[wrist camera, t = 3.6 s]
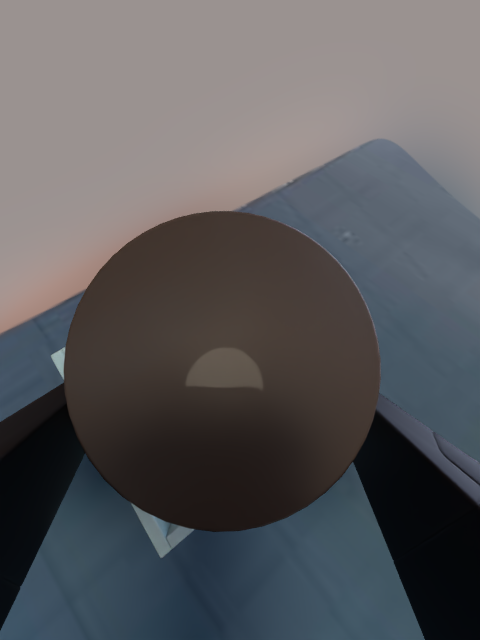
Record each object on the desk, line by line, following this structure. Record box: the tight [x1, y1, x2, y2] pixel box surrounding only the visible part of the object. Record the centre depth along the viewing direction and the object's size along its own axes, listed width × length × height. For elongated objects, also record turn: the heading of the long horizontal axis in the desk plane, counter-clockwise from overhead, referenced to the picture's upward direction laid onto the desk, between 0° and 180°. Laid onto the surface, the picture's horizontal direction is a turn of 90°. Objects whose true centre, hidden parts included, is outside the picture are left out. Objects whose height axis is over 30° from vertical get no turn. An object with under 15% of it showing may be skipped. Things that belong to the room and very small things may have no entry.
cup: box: [64, 211, 381, 532], centre depth 11 cm, size 7×7×12 cm
